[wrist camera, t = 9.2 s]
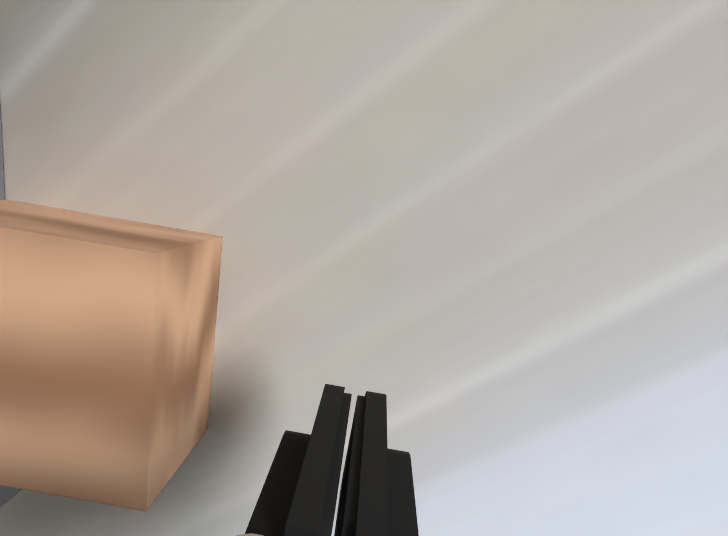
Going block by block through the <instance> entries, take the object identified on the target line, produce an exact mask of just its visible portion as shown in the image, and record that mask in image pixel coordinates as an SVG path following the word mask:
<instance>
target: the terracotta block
mask: <svg viewBox="0 0 728 536" xmlns="http://www.w3.org/2000/svg"><path fill="white" fill-rule="evenodd" d="M222 238H223V237H222V236H216V235H210V234H205V233H199V232H193V231H187V230H181V229H175V228H170V227H164V226H158V225H152V224H146V223H140V222H135V221H129V220H123V219H117V218H111V217H105V216H100V215H94V214H88V213H82V212H76V211H70V210H65V209H59V208H53V207H47V206H41V205H35V204H30V203H24V202H18V201H12V200H0V485H4V486H9V487H15V488H20V489H26V490H31V491H37V492H42V493H48V494H53V495H59V496H64V497H70V498H76V499H81V500H87V501H92V502H98V503H103V504H109V505H114V506H120V507H125V508H131V509H136V510H142V511H147V510H148V508H149V507H150V506H151V504H152V503H153V502H154V500H155V499H156V498H157V496H158V495H159V494H160V492H161V491H162V490H163V488H164V487H165V486H166V484H167V483H168V481H169V480H170V479H171V477H172V476H173V475H174V473H175V472H176V471H177V469H178V468H179V467H180V465H181V464H182V463H183V461H184V460H185V459H186V457H187V456H188V455H189V453H190V452H191V450H192V449H193V448H194V446H195V445H196V444H197V442H198V441H199V440H200V438H201V437H202V436H203V434H204V433H205V432H206V430H207V429H208V416H209V403H210V391H211V378H212V365H213V353H214V340H215V327H216V314H217V302H218V289H219V276H220V263H221V251H222Z"/></svg>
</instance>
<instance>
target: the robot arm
mask: <svg viewBox="0 0 728 536" xmlns="http://www.w3.org/2000/svg"><path fill="white" fill-rule="evenodd" d="M344 389H345V387H340V386H335V385H329V384H325V387H324V391H323V394H322V398H321V401H320V405H319V408H318V412H317V416H316V419H315V423H314V426H313V430H312V433H311V435H309V434H303V433H298V432H292V431H287V430H286V431H285V433H284V435H283V437H282V440H281V442H280V445H279V447H278V450H277V452H276V455H275V458H274V460H273V463H272V465H271V468H270V470H269V473H268V476H267V478H266V481H265V483H264V486H263V488H262V491H261V494H260V496H259V499H258V501H257V504H256V506H255V509H254V512H253V514H252V517H251V519H250V522H249V524H248V527H247V530H246V532H245V534H242V535H237V536H331V533H332V527H333V521H334V514H335V507H336V500H337V493H338V486H339V479H340V472H341V465H342V458H343V451H344V444H345V437H346V430H347V423H348V416H349V409H350V402H351V395H352V394H348V393H344ZM334 536H419V535H418V525H417V516H416V506H415V496H414V486H413V476H412V467H411V458H410V454H409V452H404V451H398V450H393V449H387V407H386V395H385V394H380V393H374V392H368V391H366V394H365V396H359V395H358V397H357V402H356V407H355V413H354V418H353V423H352V429H351V434H350V440H349V445H348V450H347V456H346V461H345V466H344V472H343V477H342V484H341V490H340V498H339V505H338V512H337V520H336V527H335V535H334Z"/></svg>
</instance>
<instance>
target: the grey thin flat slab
mask: <svg viewBox="0 0 728 536" xmlns="http://www.w3.org/2000/svg"><path fill="white" fill-rule="evenodd" d="M0 200H5V188H4V169H3V149H2V129H1V110H0ZM19 491H20V488H15V487H9V486H4V485H0V507H1V506H2V505H3V504H4V503H6V502H7V501H8V500H9V499H10V498H12V497H13V496H14V495H15V494H17V493H18V492H19Z"/></svg>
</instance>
